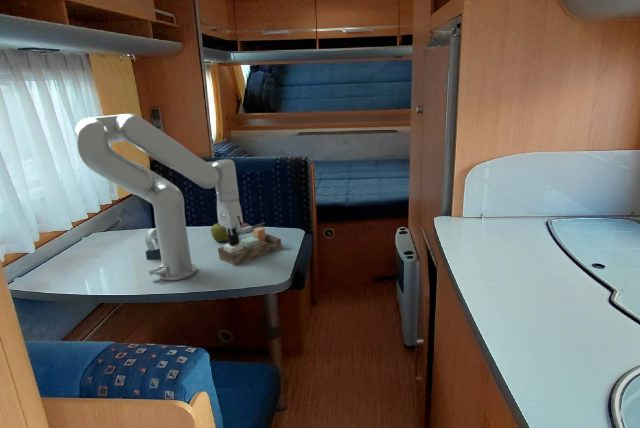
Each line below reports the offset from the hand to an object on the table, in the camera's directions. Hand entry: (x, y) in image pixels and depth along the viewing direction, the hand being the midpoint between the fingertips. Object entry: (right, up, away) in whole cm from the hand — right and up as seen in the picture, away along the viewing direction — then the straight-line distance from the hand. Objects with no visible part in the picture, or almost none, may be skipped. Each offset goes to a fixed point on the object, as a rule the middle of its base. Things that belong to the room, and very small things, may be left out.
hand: (234, 244), depth 169 cm
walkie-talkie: (-2, +3, +33) cm, 33 cm away
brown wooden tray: (+5, -4, +6) cm, 9 cm away
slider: (+8, 0, +12) cm, 14 cm away
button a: (0, -3, +1) cm, 3 cm away
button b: (+5, -1, +5) cm, 7 cm away
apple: (-9, 0, +21) cm, 23 cm away
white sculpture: (-31, -6, +8) cm, 32 cm away
